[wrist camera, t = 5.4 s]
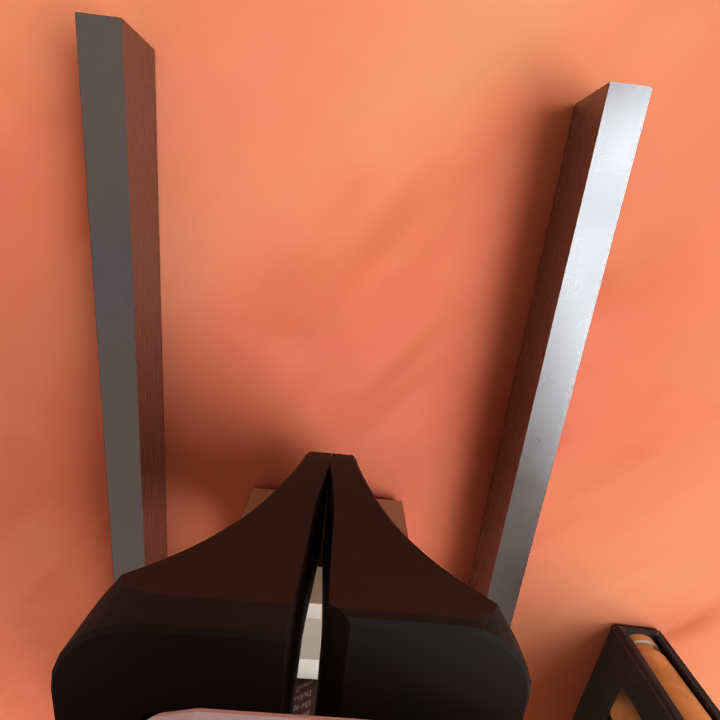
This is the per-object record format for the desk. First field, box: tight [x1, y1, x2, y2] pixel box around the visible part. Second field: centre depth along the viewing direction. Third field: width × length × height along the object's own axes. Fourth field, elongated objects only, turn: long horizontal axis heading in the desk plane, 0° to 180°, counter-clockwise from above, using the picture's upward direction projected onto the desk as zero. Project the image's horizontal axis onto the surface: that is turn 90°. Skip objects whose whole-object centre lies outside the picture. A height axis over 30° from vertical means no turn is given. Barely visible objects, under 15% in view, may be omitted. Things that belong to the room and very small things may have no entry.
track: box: [75, 12, 653, 626], centre depth 13 cm, size 13×24×2 cm, turn 174°
